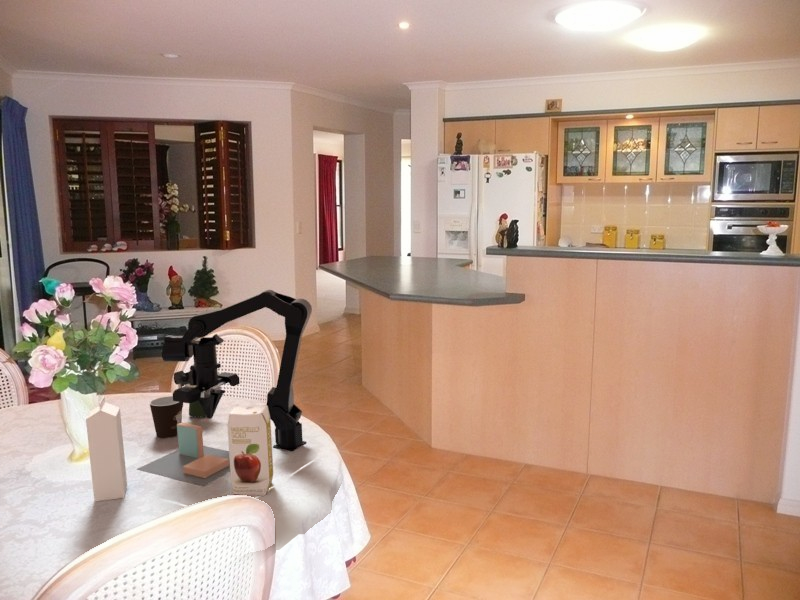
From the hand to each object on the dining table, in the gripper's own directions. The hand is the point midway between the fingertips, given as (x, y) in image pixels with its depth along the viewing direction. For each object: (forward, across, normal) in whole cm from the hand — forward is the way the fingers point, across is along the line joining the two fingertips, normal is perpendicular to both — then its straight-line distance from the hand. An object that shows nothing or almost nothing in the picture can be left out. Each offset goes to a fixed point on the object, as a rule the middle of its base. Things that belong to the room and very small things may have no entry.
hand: (209, 418), depth 163 cm
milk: (+8, +30, -1) cm, 31 cm away
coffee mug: (+8, -3, -17) cm, 19 cm away
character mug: (+8, -17, -21) cm, 28 cm away
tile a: (+7, +8, +10) cm, 14 cm away
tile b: (+8, +7, 0) cm, 10 cm away
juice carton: (+8, +15, +27) cm, 32 cm away
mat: (+8, +10, +5) cm, 14 cm away
